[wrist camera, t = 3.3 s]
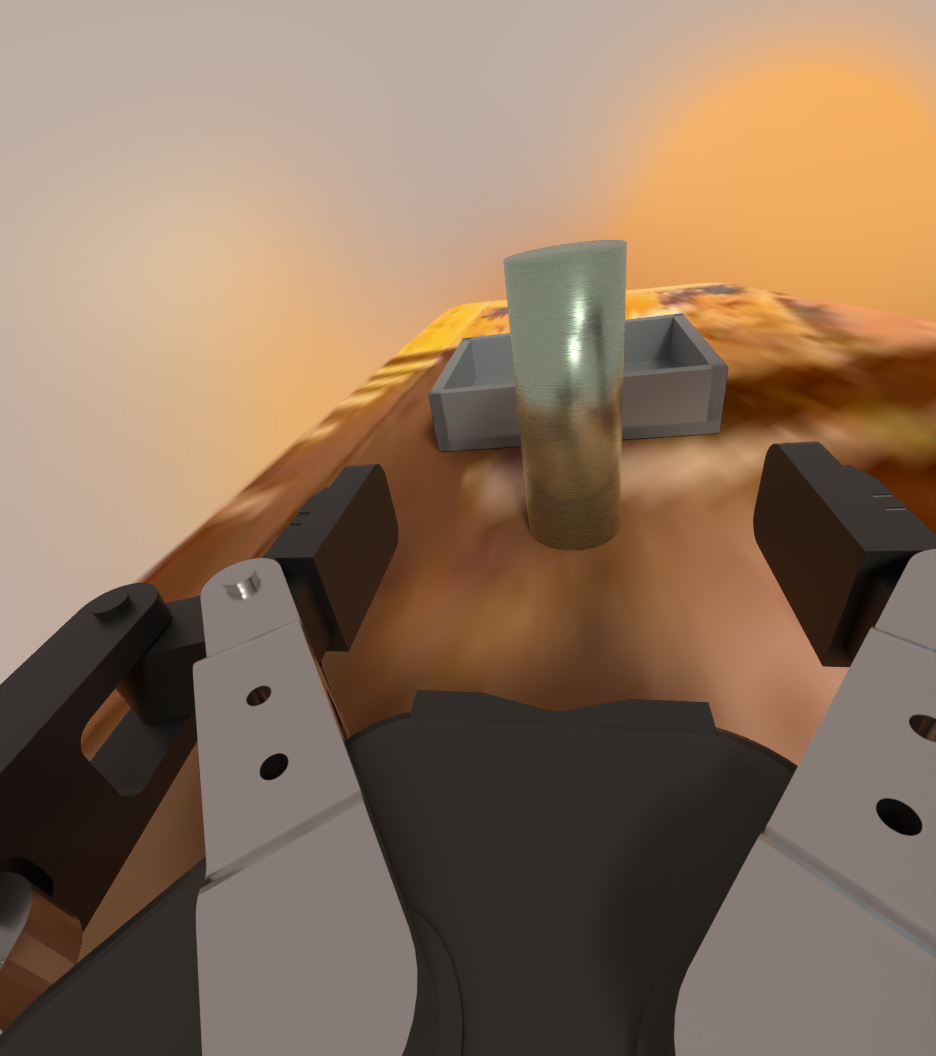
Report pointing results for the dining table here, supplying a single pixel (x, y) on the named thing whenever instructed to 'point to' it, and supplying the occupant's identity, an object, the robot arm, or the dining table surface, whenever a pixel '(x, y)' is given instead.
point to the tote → (648, 387)
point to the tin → (570, 386)
